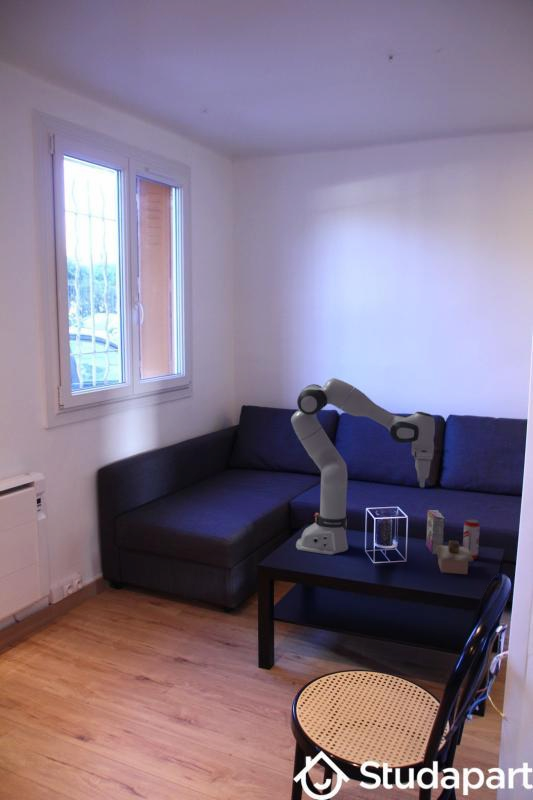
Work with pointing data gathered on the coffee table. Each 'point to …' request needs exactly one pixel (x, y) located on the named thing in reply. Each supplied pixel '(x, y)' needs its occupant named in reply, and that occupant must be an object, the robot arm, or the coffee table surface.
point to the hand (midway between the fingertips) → (420, 484)
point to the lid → (453, 552)
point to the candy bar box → (434, 530)
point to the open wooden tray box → (453, 566)
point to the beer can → (471, 536)
